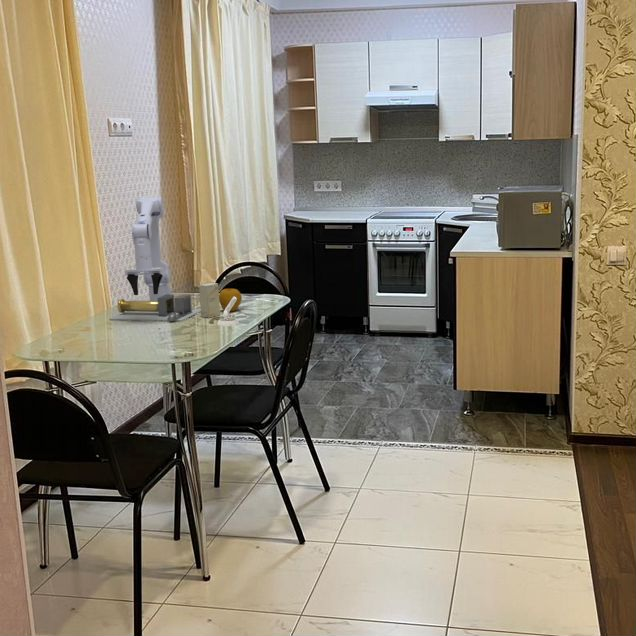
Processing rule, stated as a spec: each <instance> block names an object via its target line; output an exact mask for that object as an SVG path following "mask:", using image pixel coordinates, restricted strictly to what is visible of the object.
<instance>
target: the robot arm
mask: <svg viewBox="0 0 636 636" xmlns="http://www.w3.org/2000/svg"><path fill="white" fill-rule="evenodd" d="M135 199H136V200H135V209H136V212H137V214H138V215H137V216H136V220H135V224H134V225H131V236H132V242H133V246H134V257H135V269H125V270H124V276H126V279H127V281H128V283H129V285H130V287H131V289H132V292H133V295H134V296H138V295H139V285H138V284H139V276H140V275H141V276H142V275H143V281H144V284H145V285H146V286H147V287H148V293H149V294H148V295H149V296H148V297H149V301H158V300H157V298H159V297H161V296H164V295H166V294H172V289H171V286H170V285H169V283H170V282H171V273H170V266H169V264H168V263H166V262H165V261H164V260H162V255H161V254H162V252H161V251H162V250H161V240H160V239H161V237H160V235H161V234H160V224H159V223H160V219H162V218H163V217H164V215H165V212H164V199H163V197H162V196H161V195H158V196H146V197H145V196H144V197H143V196H142V197H137V198H135Z"/></svg>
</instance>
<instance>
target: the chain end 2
mask: <svg viewBox="0 0 636 636" xmlns="http://www.w3.org/2000/svg"><path fill="white" fill-rule="evenodd" d="M174 303H175V312H176V313H174V315H169V318H167V320H168V321H167V322H176V321H175V320H177V319H180V318H182V317H184V316H186V315H188V314H190V313H192V310H193V308H192V307H193V306H192V297H191V294H180V295H179V296H176V297H174Z"/></svg>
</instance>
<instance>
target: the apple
mask: <svg viewBox="0 0 636 636" xmlns="http://www.w3.org/2000/svg"><path fill="white" fill-rule="evenodd" d="M234 296H235V297H236V298H237V300H236V302H235V303H234V305H233V307H232V308H231V310H230V311H229V313H230V312H231V313H232V311H233V312H235V311H236V310H237V309H238V308H239V306H240V305H241V302H242V299H243V297H242V294H241V292H240V291H239V290H238V289H237V288H224V289H221V291H219V303H220V307H221V308H222V309H223V311H224V310H225V309H226V307H227V306H228V304H229V303H230V301H231V299H232V298H233V297H234Z"/></svg>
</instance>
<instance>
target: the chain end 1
mask: <svg viewBox="0 0 636 636" xmlns="http://www.w3.org/2000/svg"><path fill="white" fill-rule="evenodd" d="M174 298H175V294H172V293H171V294H166V295H164V296H161V297H159V298H157V300H158V311H159V316H162V317H166V316H169V315H171V314H173V313H175V300H174ZM166 301H167V302H168V303H169V310H168V311H167V305H166Z"/></svg>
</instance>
